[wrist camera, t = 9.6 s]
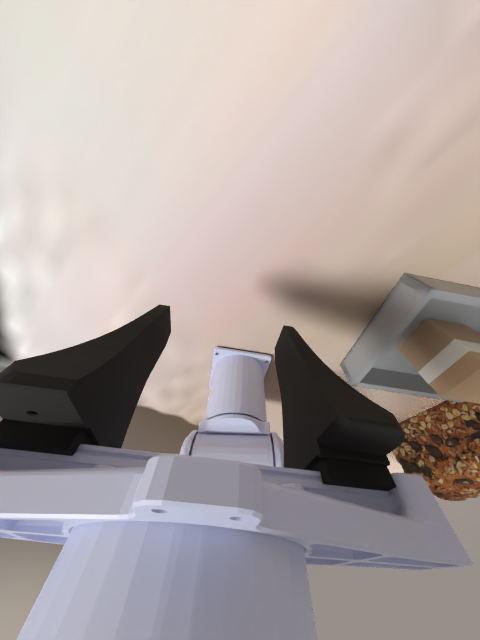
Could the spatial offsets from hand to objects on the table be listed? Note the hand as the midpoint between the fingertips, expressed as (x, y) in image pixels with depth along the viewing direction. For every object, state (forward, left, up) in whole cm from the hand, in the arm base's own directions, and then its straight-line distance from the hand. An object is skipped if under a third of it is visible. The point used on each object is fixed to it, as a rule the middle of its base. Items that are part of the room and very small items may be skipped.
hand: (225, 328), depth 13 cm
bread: (-20, -41, -10) cm, 46 cm away
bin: (-4, -25, -10) cm, 27 cm away
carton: (-4, -25, -10) cm, 27 cm away
